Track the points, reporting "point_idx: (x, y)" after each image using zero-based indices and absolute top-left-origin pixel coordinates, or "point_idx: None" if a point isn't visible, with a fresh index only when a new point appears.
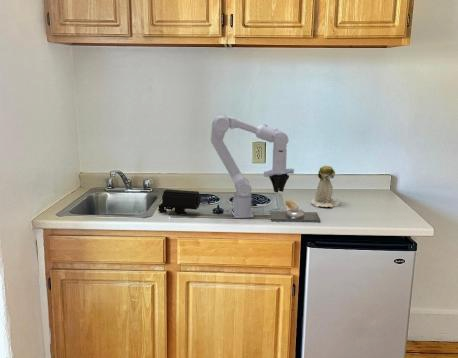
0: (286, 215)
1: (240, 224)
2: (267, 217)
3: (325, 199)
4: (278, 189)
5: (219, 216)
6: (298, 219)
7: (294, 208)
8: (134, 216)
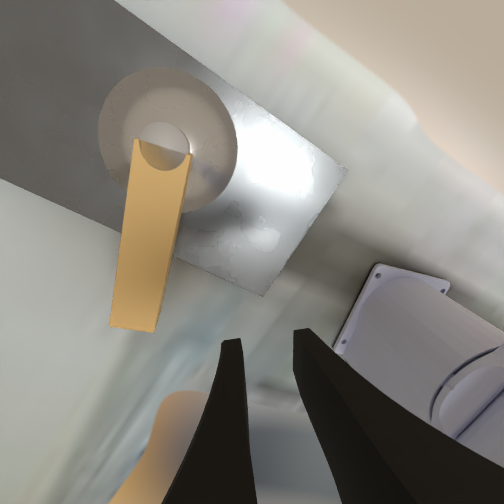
0: (224, 190)
1: (493, 195)
2: (314, 238)
3: None
4: (310, 348)
5: None
6: (197, 63)
7: (185, 140)
8: None
